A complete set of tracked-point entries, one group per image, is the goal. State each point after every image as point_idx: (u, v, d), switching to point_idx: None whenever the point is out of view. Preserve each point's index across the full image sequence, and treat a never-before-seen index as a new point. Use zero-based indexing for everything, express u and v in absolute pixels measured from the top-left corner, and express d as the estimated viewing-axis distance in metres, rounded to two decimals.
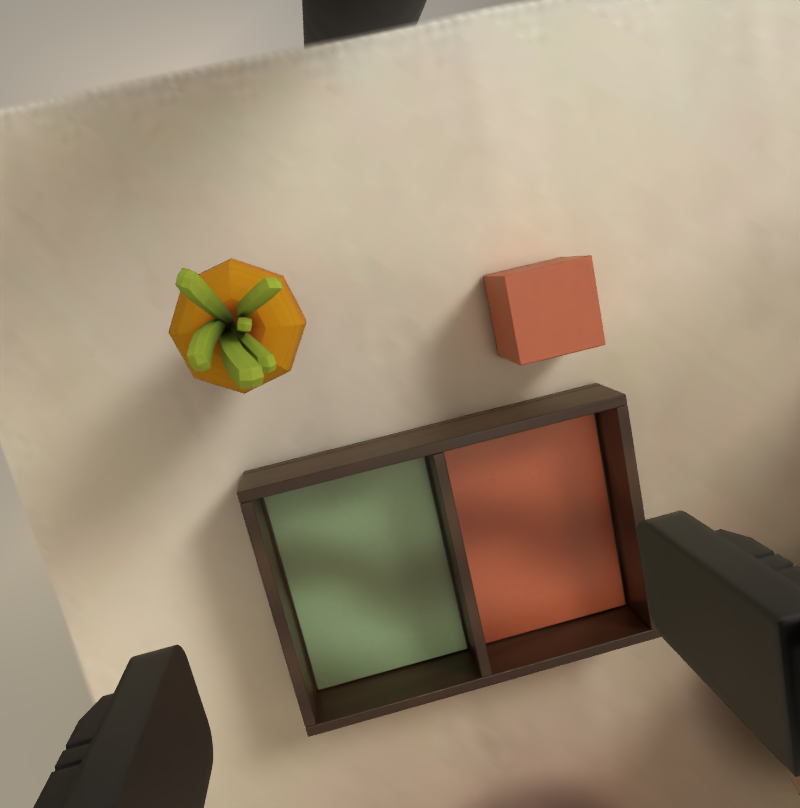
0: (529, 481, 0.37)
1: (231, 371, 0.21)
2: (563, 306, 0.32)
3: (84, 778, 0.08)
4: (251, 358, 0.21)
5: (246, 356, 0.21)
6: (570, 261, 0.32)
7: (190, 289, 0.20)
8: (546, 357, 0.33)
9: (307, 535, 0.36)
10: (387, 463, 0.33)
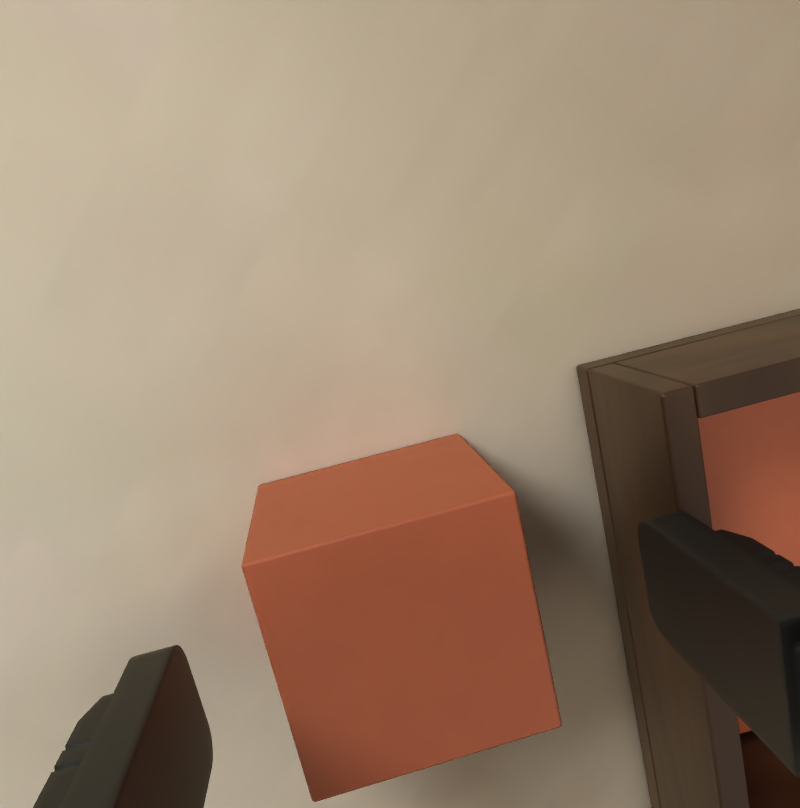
0: None
1: None
2: (398, 630, 0.11)
3: (83, 779, 0.08)
4: None
5: None
6: (262, 627, 0.10)
7: None
8: (543, 659, 0.11)
9: None
10: None
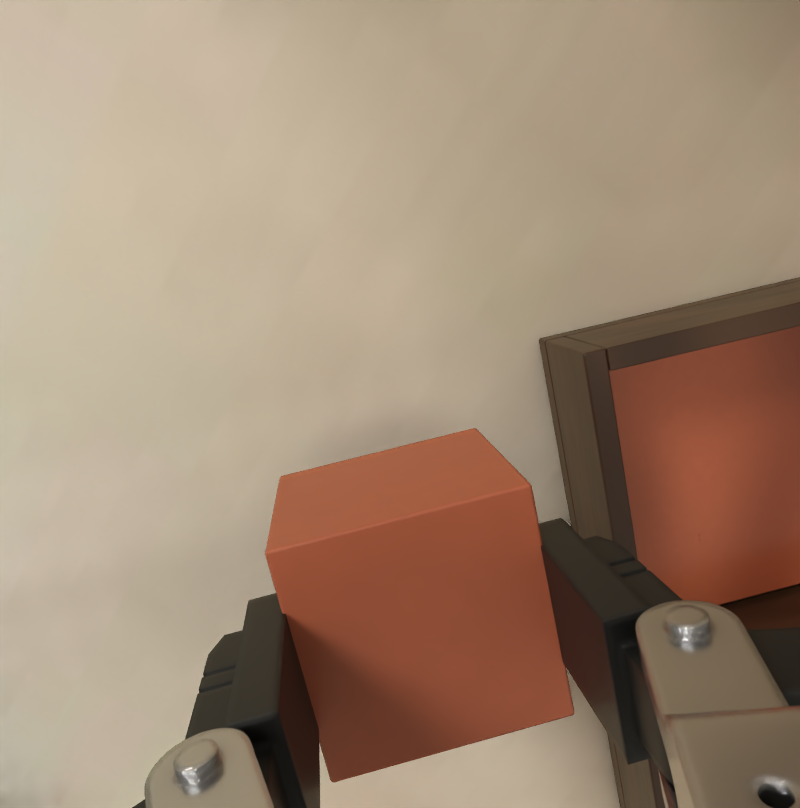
0: (711, 470, 0.20)
1: None
2: (415, 617, 0.11)
3: (240, 691, 0.09)
4: None
5: None
6: (284, 612, 0.11)
7: None
8: (557, 648, 0.12)
9: None
10: None
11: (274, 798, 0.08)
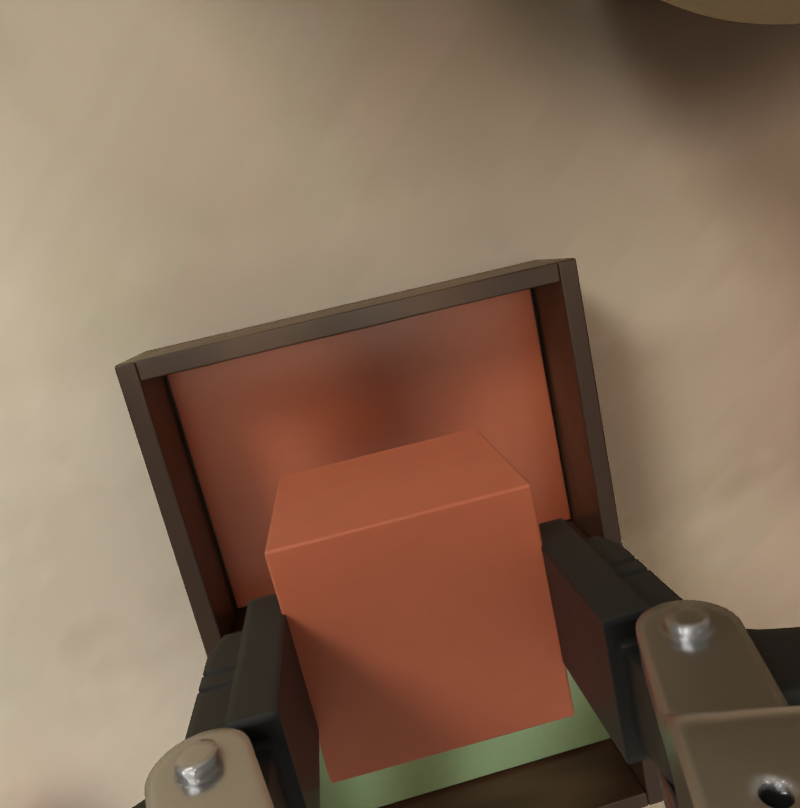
0: (306, 465, 0.23)
1: None
2: (415, 618, 0.11)
3: (240, 691, 0.09)
4: None
5: None
6: (284, 613, 0.11)
7: None
8: (557, 649, 0.12)
9: None
10: None
11: (274, 798, 0.08)
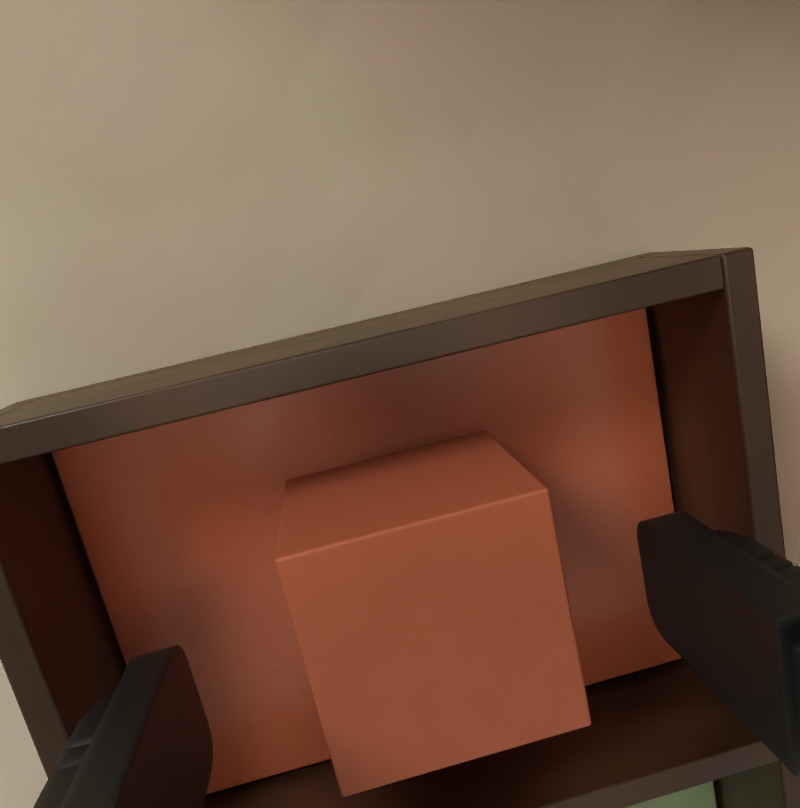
0: None
1: None
2: (430, 626, 0.11)
3: (84, 778, 0.08)
4: None
5: None
6: (295, 622, 0.10)
7: None
8: (574, 657, 0.11)
9: None
10: None
11: None
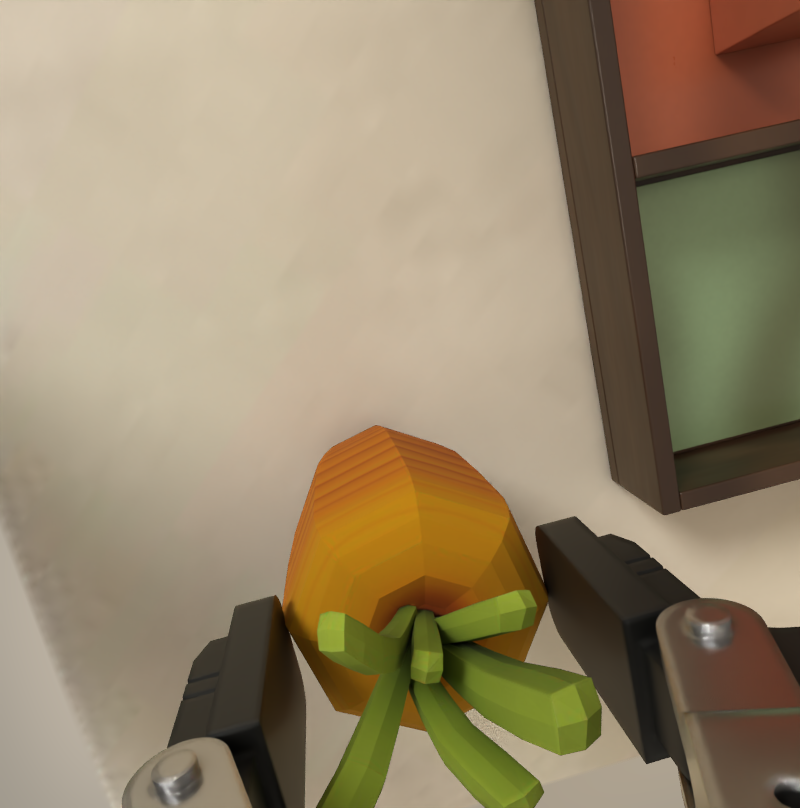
0: None
1: None
2: None
3: (223, 699, 0.09)
4: (519, 691, 0.08)
5: (512, 697, 0.09)
6: None
7: None
8: None
9: (726, 389, 0.23)
10: (642, 264, 0.18)
11: None
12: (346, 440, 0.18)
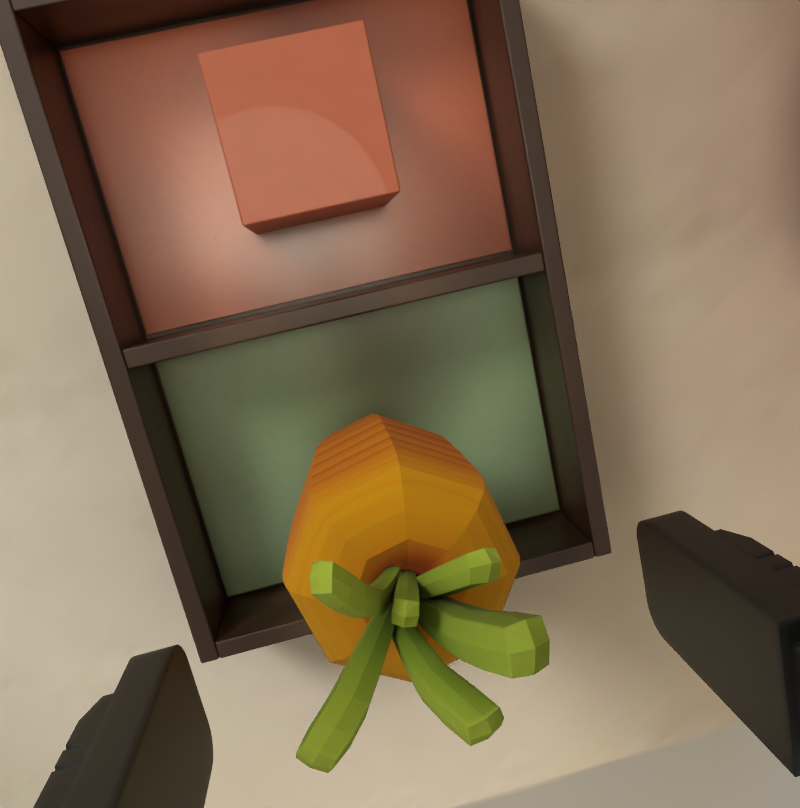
0: (218, 170, 0.21)
1: None
2: (293, 108, 0.18)
3: (84, 778, 0.08)
4: (481, 629, 0.10)
5: (475, 635, 0.10)
6: (210, 96, 0.17)
7: (338, 755, 0.10)
8: (386, 140, 0.18)
9: None
10: (145, 443, 0.20)
11: None
12: (344, 427, 0.20)
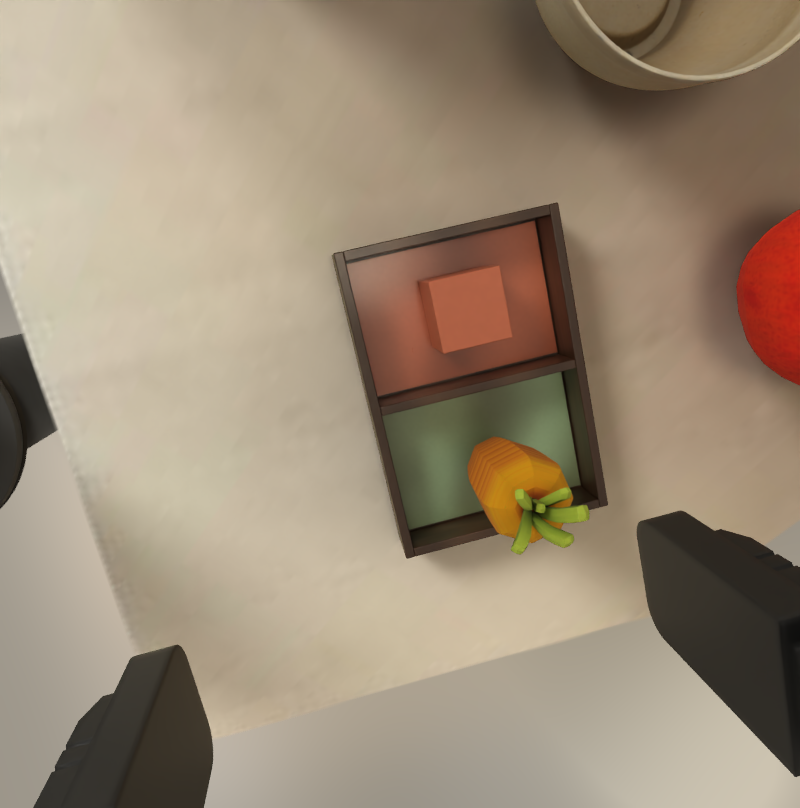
0: (415, 316, 0.44)
1: (575, 522, 0.32)
2: (467, 303, 0.40)
3: (84, 778, 0.08)
4: (568, 509, 0.32)
5: (566, 512, 0.32)
6: (432, 299, 0.40)
7: (525, 547, 0.32)
8: (507, 315, 0.41)
9: (451, 495, 0.47)
10: (387, 451, 0.42)
11: None
12: (482, 443, 0.42)
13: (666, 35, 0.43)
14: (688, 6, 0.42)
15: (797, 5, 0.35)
